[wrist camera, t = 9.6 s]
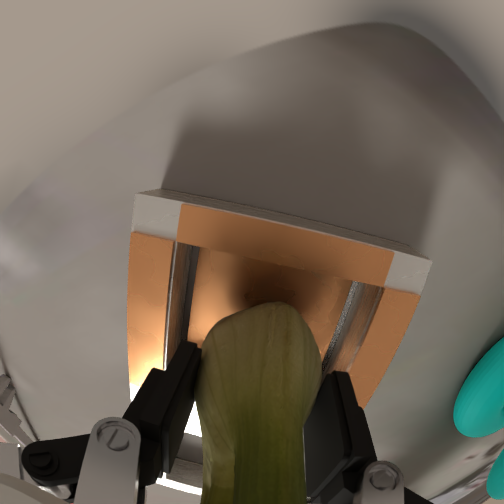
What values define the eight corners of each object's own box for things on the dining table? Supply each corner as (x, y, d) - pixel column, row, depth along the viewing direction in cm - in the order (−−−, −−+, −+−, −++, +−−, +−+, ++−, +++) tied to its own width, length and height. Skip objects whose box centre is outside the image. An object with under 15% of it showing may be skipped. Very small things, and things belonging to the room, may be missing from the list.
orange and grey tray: (408, 245, 12) (434, 262, 10) (286, 485, 18) (286, 509, 16) (160, 188, 13) (133, 193, 10) (151, 457, 19) (142, 479, 16)
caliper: (5, 370, 19) (-28, 401, 13) (11, 374, 19) (-22, 407, 13) (50, 462, 25) (34, 488, 19) (56, 465, 25) (39, 492, 19)
